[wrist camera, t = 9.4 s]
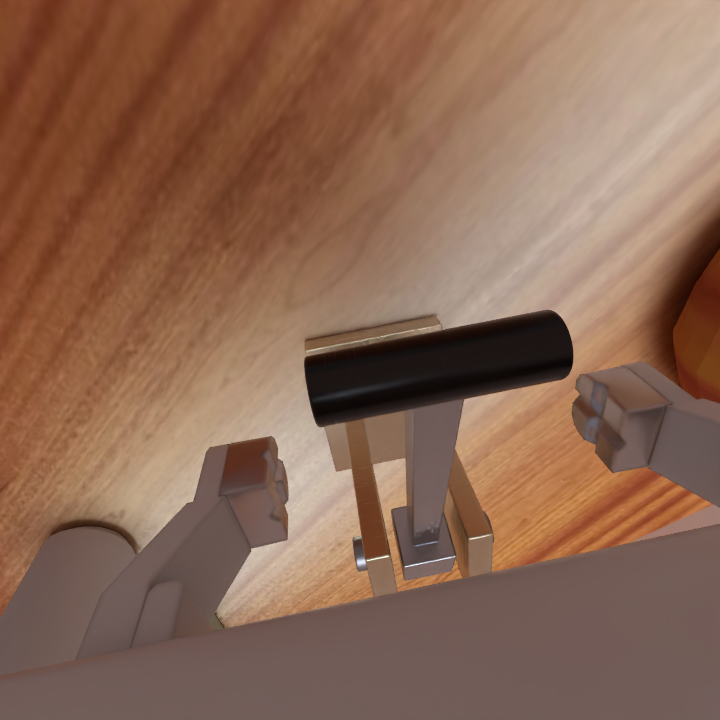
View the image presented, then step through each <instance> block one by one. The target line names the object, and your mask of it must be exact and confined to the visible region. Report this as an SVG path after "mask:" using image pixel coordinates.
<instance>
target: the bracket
mask: <svg viewBox="0 0 720 720" xmlns="http://www.w3.org/2000/svg"><path fill="white" fill-rule="evenodd" d="M439 330H442V324H441V323H440V321H439V320H438V318H437V316H432V317H427V318H421V319H416V320H411V321H406V322H401V323H395V324H390V325H385V326H380V327H375V328H370V329H364V330H359V331H354V332H349V333H344V334H338V335H333V336H328V337H323V338H318V339H313V340H307V341H305V352H306V356H311V355H316V354H321V353H326V352H331V351H336V350H342V349H347V348H352V347H357V346H362V345H367V344H372V343H378V342H383V341H388V340H393V339H398V338H403V337H409V336H414V335H419V334H424V333H429V332H434V331H439ZM325 430H326V434H327V438H328V442H329V446H330V450H331V453H332V457H333V461H334V465H335V469H336V471H342V470H347V469H352V475H353V481H354V488H355V495H356V502H357V509H358V516H359V523H360V530H361V536H357V537H353V549H354V555H355V561H356V565H357V569H358V571H359V572H360V571H365V570H368V575H369V579H370V583H371V587H372V591H373V595H374V597H376V596H381V595H386V594H390V593H395V592H398V591H397V586H396V580H395V575H394V570H393V564H392V559H391V554H390V549H389V544H388V539H387V534H386V529H385V524H384V519H383V514H382V509H381V504H380V500H379V495H378V490H377V485H376V480H375V475H374V470H373V465H372V464H376V463H381V462H386V461H391V460H396V459H401V458H406V457H405V422H404V411H401V412H396V413H391V414H386V415H381V416H376V417H371V418H366V419H361V420H356V421H351V422H346V423H341V424H336V425H331V426H326V427H325ZM444 514H445V517H446V521H447V524H448V527H449V531H450V534H451V538H452V541H453V545H454V548H455V552H456V562H457V564H458V567H459V570H460V573H461V576H462V578H466V577H471V576H476V575H481V574H485V573H490V572H492V547H493V542H494V536H493V531H492V527H491V523H490V521H489V518H488V516H487V514H486V513H485V512H484V511H483V510H482V508H481V506H480V503H479V501H478V499H477V497H476V494H475V492H474V490H473V488H472V485H471V483H470V481H469V479H468V476H467V474H466V472H465V470H464V468H463V465H462V463H461V461H460V459H459V456H458V454H457V452H456V450H455V451H454V456H453V462H452V467H451V473H450V478H449V484H448V489H447V495H446V500H445V506H444Z"/></svg>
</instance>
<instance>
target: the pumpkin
mask: <svg viewBox="0 0 720 720" xmlns="http://www.w3.org/2000/svg"><path fill="white" fill-rule="evenodd" d="M673 345H674V351H675V358H676V365H677V371H678V378H679V384H680V387H681V388H682V389H683V390H684V391H686V392H687V393H688V394H690V395H691V396H692V397H694V398H695V399H696V400H698V399H707V400H710V401H713V402H716V403H720V248H719V250H718V251H717V253H716V254H715V256H714V257H713V259H712V260H711V262H710V263H709V265H708V266H707V268H706V269H705V271H704V272H703V273H702V275H701V276H700V278H699V279H698V281H697V282H696V284H695V286H694V288H693V290H692V292H691V294H690V296H689V298H688V300H687V302H686V304H685V307H684V309H683V311H682V313H681V315H680V317H679V319H678V321H677V323H676V326H675V328H674V330H673Z"/></svg>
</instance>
